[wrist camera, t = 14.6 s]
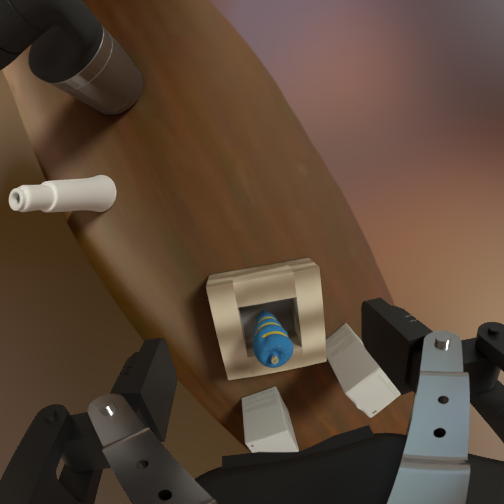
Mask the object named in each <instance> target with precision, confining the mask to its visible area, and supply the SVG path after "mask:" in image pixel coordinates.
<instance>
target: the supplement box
mask: <svg viewBox="0 0 504 504" xmlns="http://www.w3.org/2000/svg"><path fill="white" fill-rule="evenodd" d="M242 411H243V424H244V437H245V444H246V445H247V446H248V448H249V449H250V450H251V452H252V453H254V452H299V449H298V445H297V442H296V438H295V435H294V431H293V427H292V424H291V420H290V416H289V412H288V409H287V407H286V405H285V404H284V402H283V400H282V398H281V396H280V394H279V392H278V390H277V388H276V386H275V387H272V388H269V389H267V390H264V391H261V392H258V393H256V394H253V395H250V396H247V397H244V398H242Z"/></svg>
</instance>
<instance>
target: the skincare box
mask: <svg viewBox="0 0 504 504" xmlns="http://www.w3.org/2000/svg"><path fill="white" fill-rule="evenodd" d="M325 341H326V357H327V359H328V361H329V363H330V365H331V367H332V369H333V371H334V373H335V375H336V377H337V379H338V381H339V383H340V385H341V387H342V389H343V391H344V393H345V395H347V396H348V397H349V398H350V399H351V400H352V401H353V402H354V403H355V404H356V406H357V408H358V409H360V410H362V411H363V412H364V413H365V414H366V415H367V416H369V417H370V418H371V417H373V416H374V415H375V414H377V413H378V412H379V411H381V410H382V409H383V408H384V407H386V406H387V405H388V404H389V403H391V402H392V401H393V400H394V399H396V398H397V397H398V396H399V395H400V394H401V393H400V392H399V391H398V389H397V388H396V387H395V386H394V384H393V383H392V382H391V381H390V379H389V378H388V377H387V375H386V374H385V373H384V372H383V370H382V369H381V368H380V367H379V365H378V364H377V363H376V362H375V360H374V359H373V358H372V357H371V355H370V354H369V353H368V352H367V350H366V349H365V347H364V345H363V342H362V341H361V340H360V338H359V337H358V336H357V335H356V334H355V333H354V331H353V330H352V329H351V328H350V327H349V326H348V324H347V323H345V324H344V325H343V326H342V327H340V328H339V329H338V330H337V331H336V332H334V333H333V334H332V335H331V336H330V337H328V338H327V339H326V340H325Z"/></svg>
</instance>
